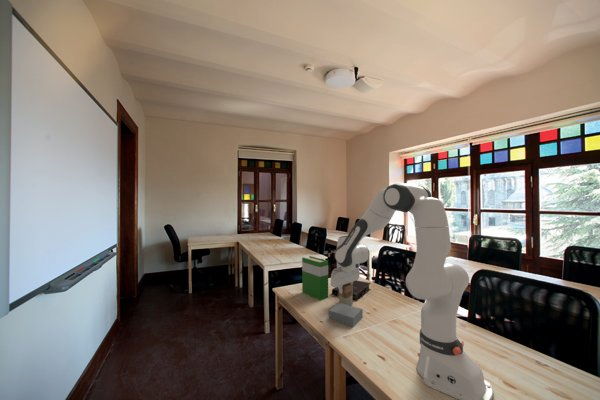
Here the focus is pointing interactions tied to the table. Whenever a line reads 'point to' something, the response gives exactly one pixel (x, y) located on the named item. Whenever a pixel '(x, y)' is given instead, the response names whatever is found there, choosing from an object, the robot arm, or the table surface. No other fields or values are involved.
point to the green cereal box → (315, 277)
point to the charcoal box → (346, 314)
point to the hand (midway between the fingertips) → (345, 291)
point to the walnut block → (346, 291)
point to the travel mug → (345, 300)
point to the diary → (356, 289)
